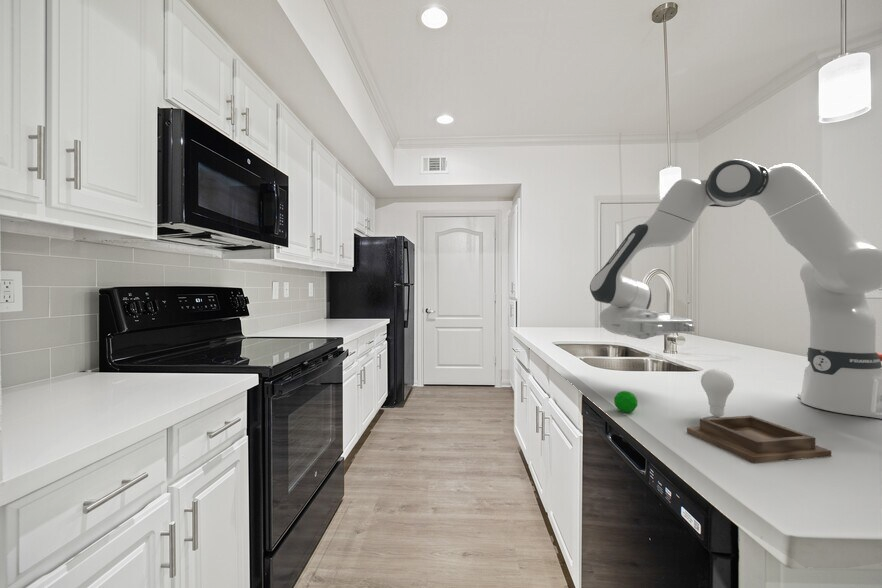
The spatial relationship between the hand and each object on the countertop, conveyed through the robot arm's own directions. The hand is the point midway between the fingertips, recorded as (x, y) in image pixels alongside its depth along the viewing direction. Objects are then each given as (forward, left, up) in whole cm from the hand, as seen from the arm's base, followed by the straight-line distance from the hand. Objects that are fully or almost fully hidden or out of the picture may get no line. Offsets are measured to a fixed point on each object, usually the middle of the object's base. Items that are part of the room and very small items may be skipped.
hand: (676, 328), depth 99 cm
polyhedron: (+18, +5, -19) cm, 27 cm away
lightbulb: (0, +12, -19) cm, 23 cm away
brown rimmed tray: (+6, +26, -19) cm, 33 cm away
